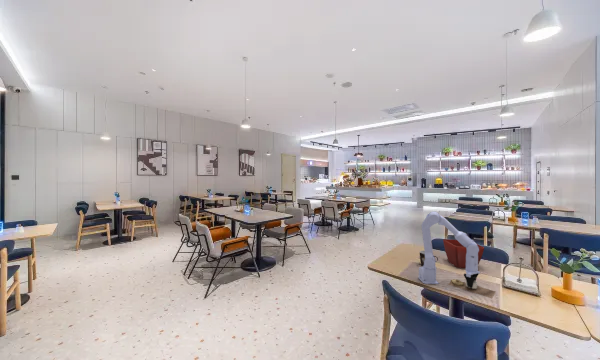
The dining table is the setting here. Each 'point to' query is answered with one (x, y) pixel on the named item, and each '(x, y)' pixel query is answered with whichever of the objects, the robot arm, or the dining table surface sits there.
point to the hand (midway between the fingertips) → (471, 285)
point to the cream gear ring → (473, 284)
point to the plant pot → (458, 253)
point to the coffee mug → (423, 257)
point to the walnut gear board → (478, 290)
